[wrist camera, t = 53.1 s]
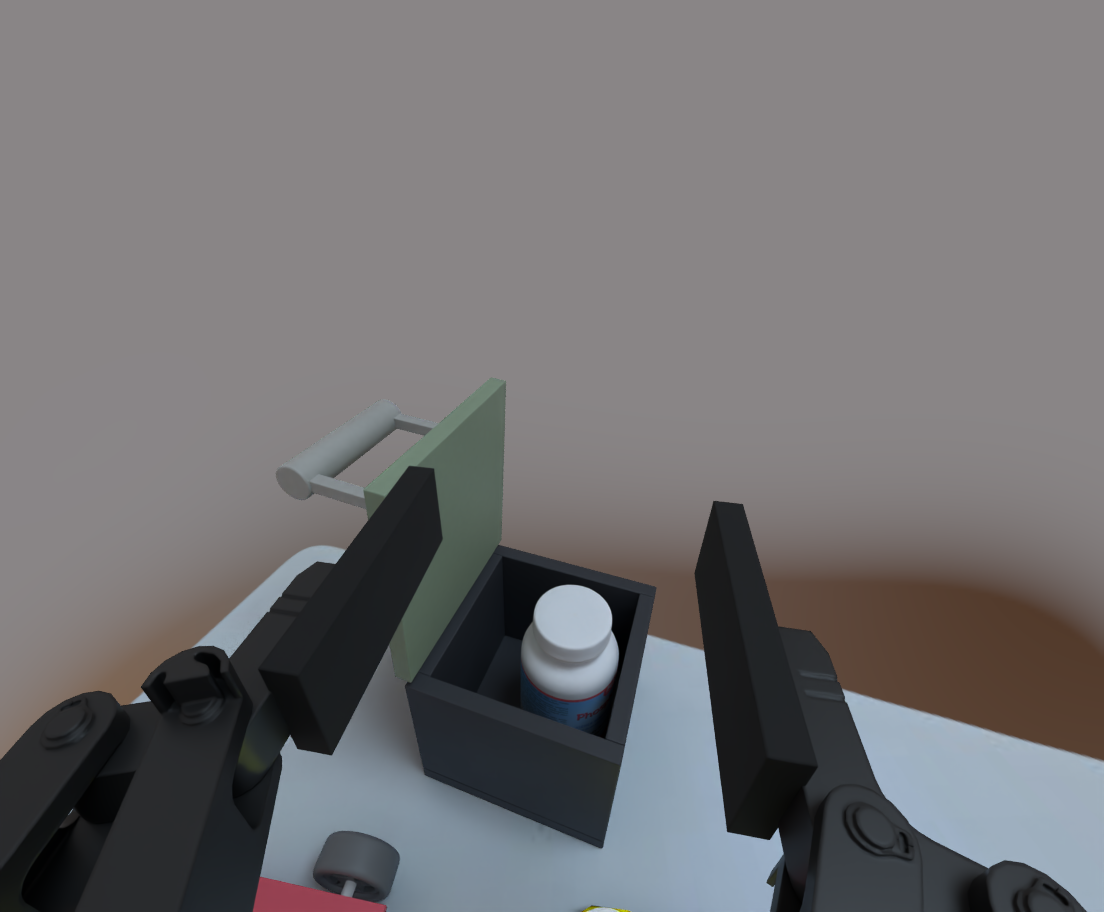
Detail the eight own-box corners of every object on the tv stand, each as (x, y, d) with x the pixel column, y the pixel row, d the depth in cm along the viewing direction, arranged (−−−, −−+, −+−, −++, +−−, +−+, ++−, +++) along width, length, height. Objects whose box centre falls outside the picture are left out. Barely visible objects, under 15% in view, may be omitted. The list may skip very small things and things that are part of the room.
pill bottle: (590, 783, 31) (607, 678, 24) (505, 743, 32) (501, 636, 26) (617, 699, 35) (637, 594, 29) (541, 668, 37) (545, 563, 31)
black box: (638, 674, 38) (656, 586, 33) (602, 849, 28) (620, 766, 23) (499, 630, 41) (495, 543, 36) (424, 775, 32) (404, 686, 26)
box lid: (506, 380, 28) (388, 354, 30) (384, 495, 19) (222, 447, 20) (501, 539, 35) (406, 511, 37) (411, 683, 26) (288, 635, 28)
